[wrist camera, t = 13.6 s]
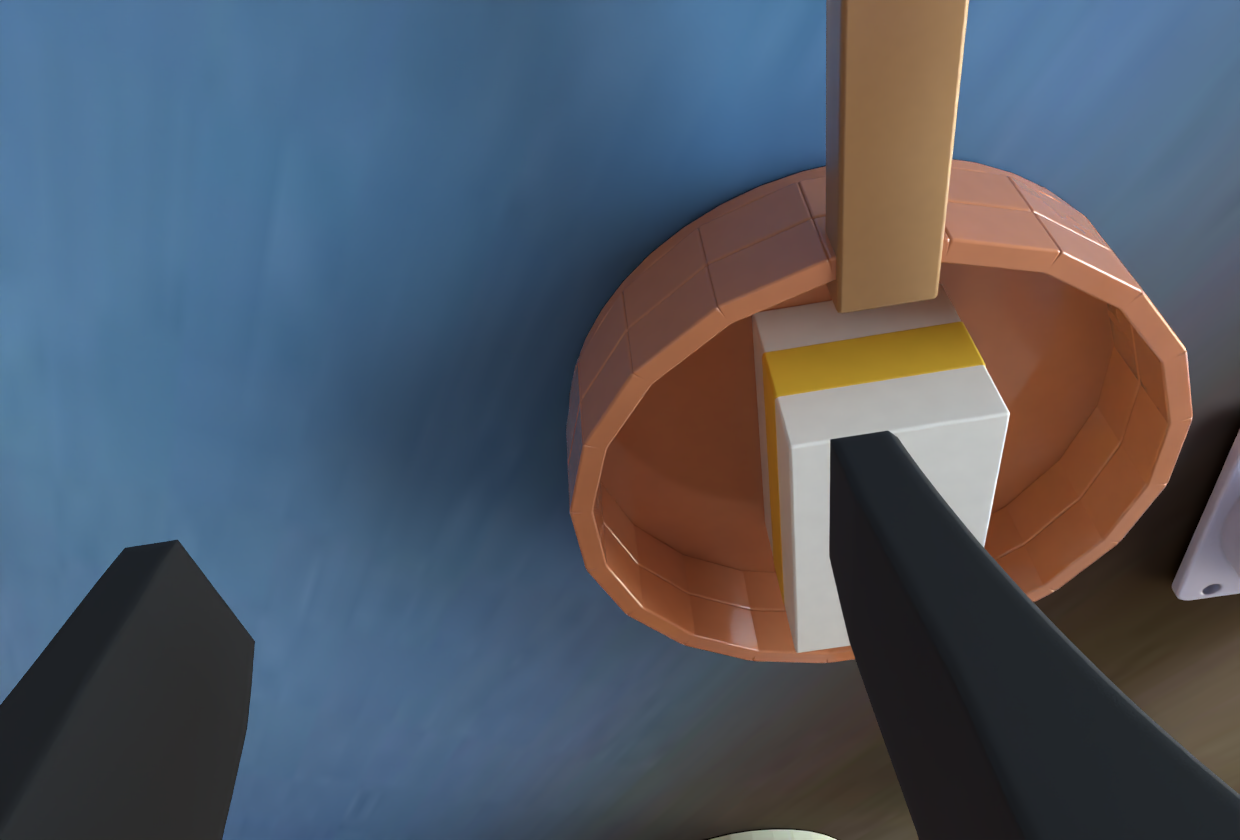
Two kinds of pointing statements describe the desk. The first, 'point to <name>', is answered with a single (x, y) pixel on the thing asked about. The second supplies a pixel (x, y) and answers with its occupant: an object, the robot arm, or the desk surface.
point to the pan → (728, 413)
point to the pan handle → (890, 145)
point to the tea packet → (865, 429)
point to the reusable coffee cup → (775, 835)
